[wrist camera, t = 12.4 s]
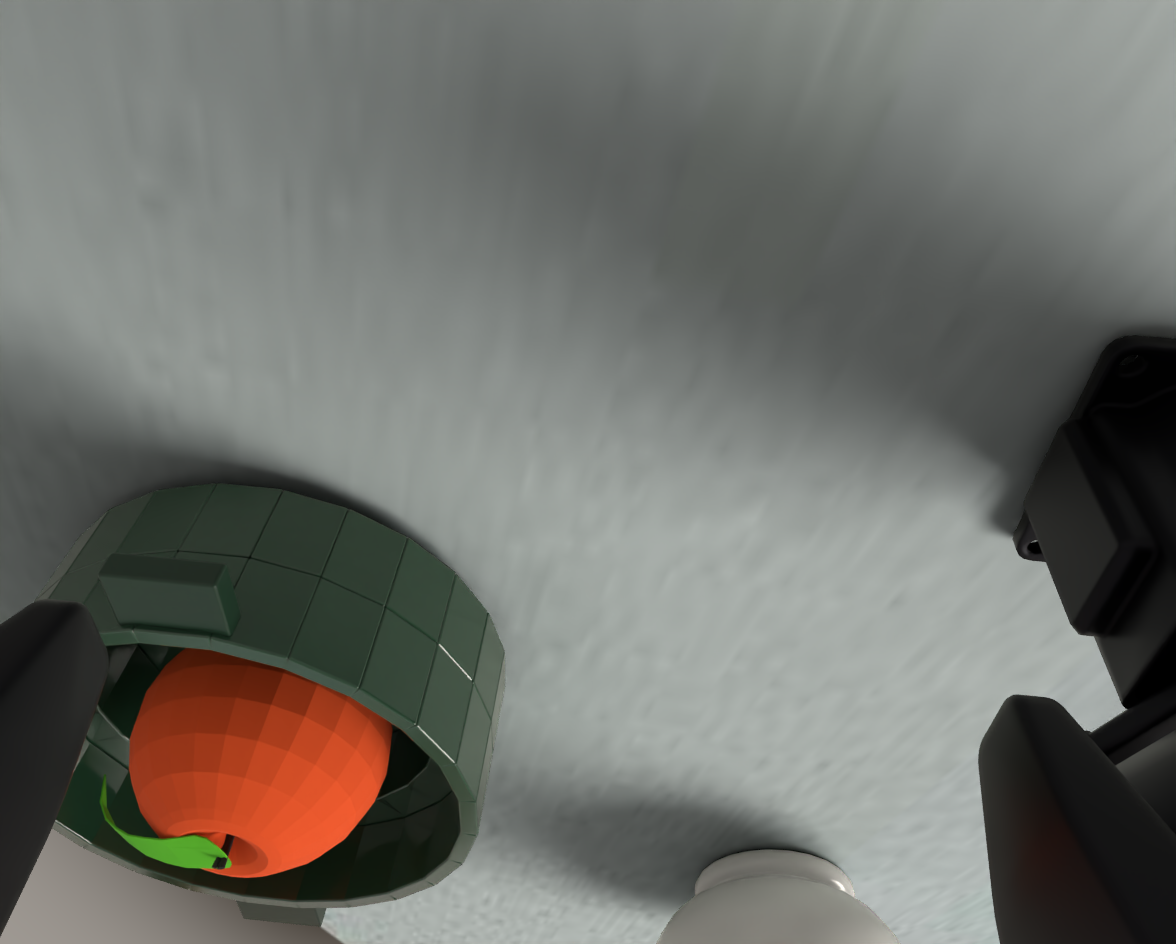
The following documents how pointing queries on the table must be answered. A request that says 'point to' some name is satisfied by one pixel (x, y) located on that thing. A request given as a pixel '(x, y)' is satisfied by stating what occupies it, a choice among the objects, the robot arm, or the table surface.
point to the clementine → (249, 766)
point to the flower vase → (775, 904)
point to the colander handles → (185, 603)
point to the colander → (316, 652)
